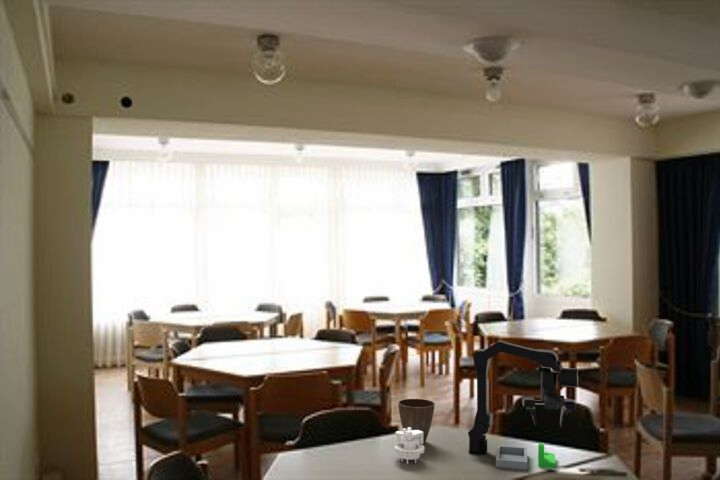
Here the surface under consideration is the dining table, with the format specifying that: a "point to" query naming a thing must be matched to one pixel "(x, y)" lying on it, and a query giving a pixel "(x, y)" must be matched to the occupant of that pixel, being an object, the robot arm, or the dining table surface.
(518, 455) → the parts tray
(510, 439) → the dining table surface
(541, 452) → the mechanical part
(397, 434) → the mechanical part
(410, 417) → the plant pot
